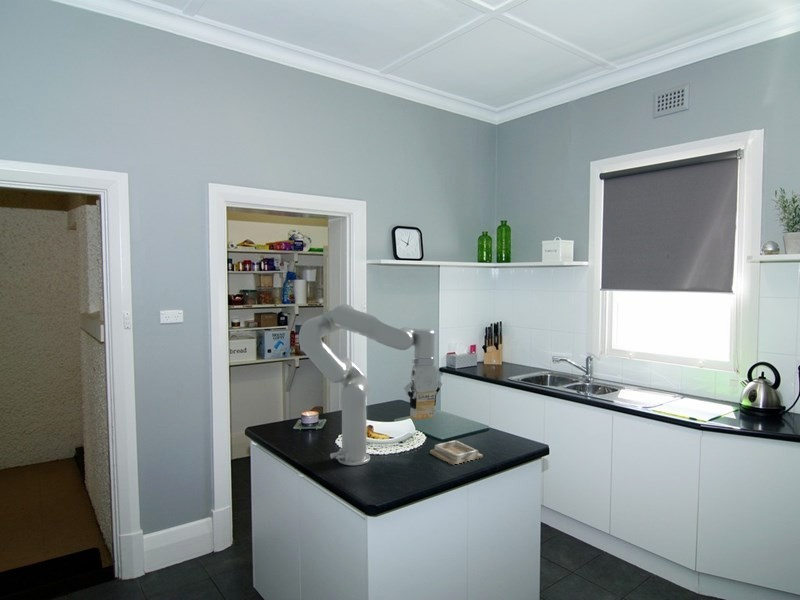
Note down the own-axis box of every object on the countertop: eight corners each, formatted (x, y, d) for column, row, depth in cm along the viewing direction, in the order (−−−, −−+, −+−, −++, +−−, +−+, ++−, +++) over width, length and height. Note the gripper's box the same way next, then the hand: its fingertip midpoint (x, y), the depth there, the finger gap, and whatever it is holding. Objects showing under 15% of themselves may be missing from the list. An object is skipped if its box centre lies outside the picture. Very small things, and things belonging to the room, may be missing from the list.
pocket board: (453, 465, 191) (453, 457, 190) (430, 453, 203) (430, 445, 203) (482, 457, 199) (482, 450, 199) (458, 446, 211) (458, 438, 211)
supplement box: (416, 420, 188) (417, 386, 187) (409, 416, 192) (410, 383, 191) (434, 417, 192) (435, 384, 191) (428, 414, 196) (429, 381, 195)
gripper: (410, 365, 182) (409, 412, 184) (448, 361, 192) (446, 405, 193) (399, 361, 189) (398, 407, 190) (436, 358, 198) (435, 401, 199)
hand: (422, 406), depth 191 cm, fingers closed on supplement box, 8 cm apart
